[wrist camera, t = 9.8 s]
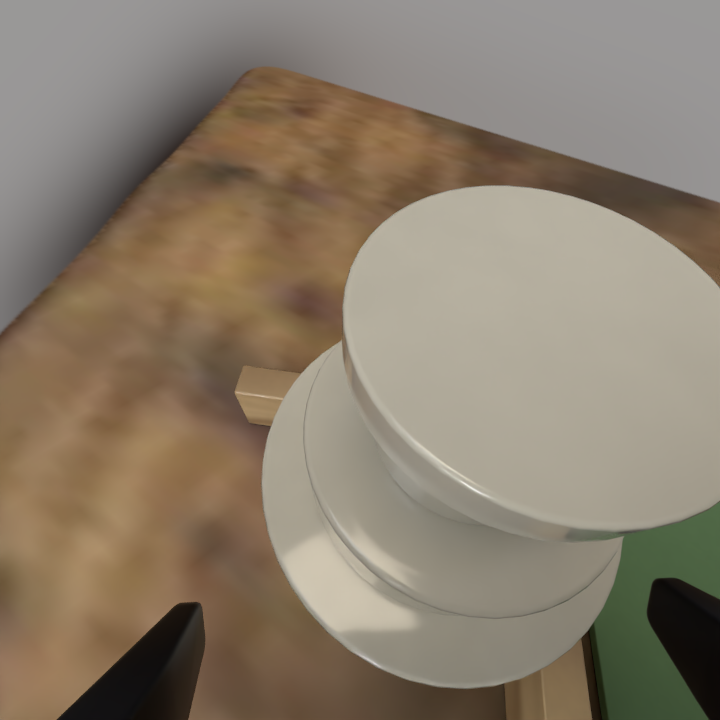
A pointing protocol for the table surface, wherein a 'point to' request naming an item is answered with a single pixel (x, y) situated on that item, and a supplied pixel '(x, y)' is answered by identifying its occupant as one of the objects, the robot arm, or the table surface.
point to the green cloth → (631, 626)
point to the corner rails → (522, 697)
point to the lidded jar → (493, 431)
